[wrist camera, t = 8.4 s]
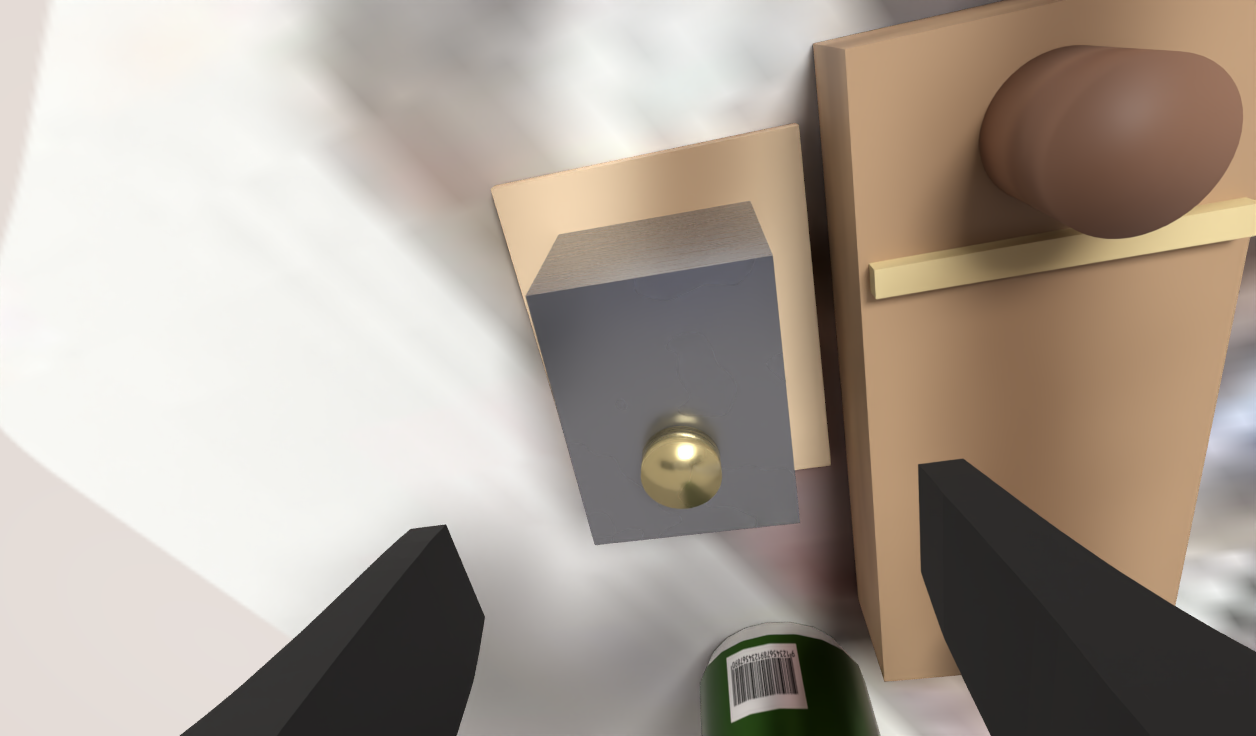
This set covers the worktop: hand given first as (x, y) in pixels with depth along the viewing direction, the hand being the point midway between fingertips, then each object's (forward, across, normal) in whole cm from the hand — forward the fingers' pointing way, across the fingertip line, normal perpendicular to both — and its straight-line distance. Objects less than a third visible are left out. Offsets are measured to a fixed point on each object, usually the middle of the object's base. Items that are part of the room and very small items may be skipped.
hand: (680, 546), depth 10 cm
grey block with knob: (+8, 0, 0) cm, 8 cm away
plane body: (+8, -7, +2) cm, 11 cm away
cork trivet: (+8, 0, 0) cm, 8 cm away
